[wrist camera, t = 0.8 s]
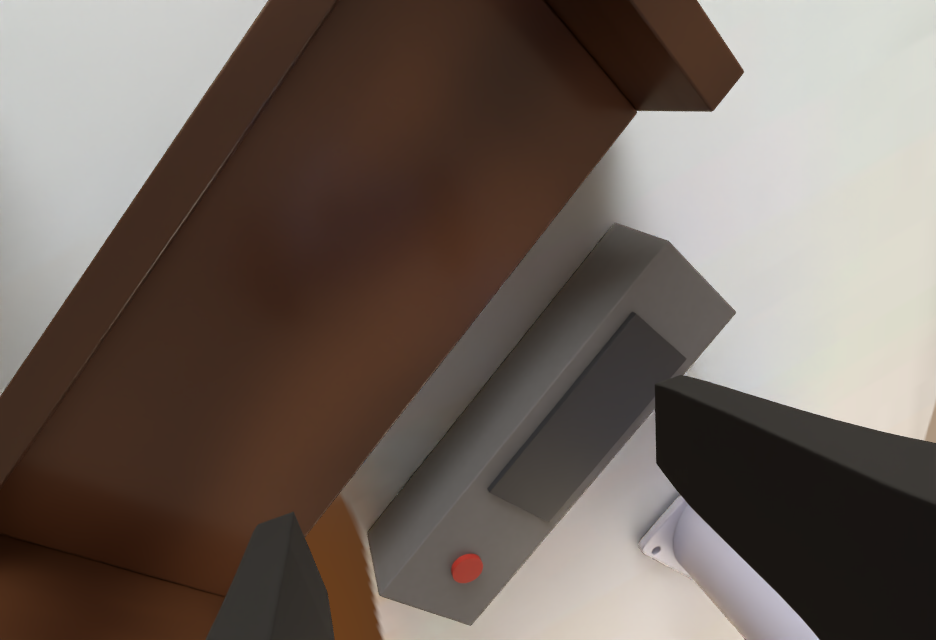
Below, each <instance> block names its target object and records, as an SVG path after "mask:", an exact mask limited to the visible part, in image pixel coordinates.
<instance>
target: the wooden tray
mask: <svg viewBox="0 0 936 640" xmlns="http://www.w3.org/2000/svg"><path fill="white" fill-rule="evenodd" d="M743 73H744V70H743V69H742V67H741V66H740V64H739V63H738V61H737V60H736V58H735V57H734V55H733V54H732V52H731V51H730V49H729V48H728V46H727V45H726V43H725V42H724V40H723V39H722V37H721V36H720V34H719V33H718V31H717V30H716V28H715V27H714V25H713V24H712V22H711V21H710V19H709V18H708V16H707V15H706V13H705V12H704V10H703V9H702V7H701V6H700V4H699V3H698V1H697V0H268V2H267V3H266V5H265V6H264V8H263V9H262V11H261V12H260V13H259V15H258V16H257V18H256V19H255V21H254V22H253V24H252V25H251V27H250V28H249V30H248V31H247V33H246V34H245V36H244V37H243V39H242V40H241V42H240V43H239V45H238V46H237V47H236V49H235V50H234V52H233V53H232V55H231V56H230V58H229V59H228V61H227V62H226V64H225V65H224V67H223V68H222V70H221V71H220V73H219V74H218V76H217V77H216V79H215V80H214V81H213V83H212V84H211V86H210V87H209V89H208V90H207V92H206V93H205V95H204V96H203V98H202V99H201V101H200V102H199V104H198V105H197V107H196V108H195V110H194V111H193V112H192V114H191V115H190V117H189V118H188V120H187V121H186V123H185V124H184V126H183V127H182V129H181V130H180V132H179V133H178V135H177V136H176V138H175V139H174V141H173V142H172V144H171V145H170V146H169V148H168V149H167V151H166V152H165V154H164V155H163V157H162V158H161V160H160V161H159V163H158V164H157V166H156V167H155V169H154V170H153V172H152V173H151V175H150V176H149V178H148V179H147V180H146V182H145V183H144V185H143V186H142V188H141V189H140V191H139V192H138V194H137V195H136V197H135V198H134V200H133V201H132V203H131V204H130V206H129V207H128V209H127V210H126V212H125V213H124V214H123V216H122V217H121V219H120V220H119V222H118V223H117V225H116V226H115V228H114V229H113V231H112V232H111V234H110V235H109V237H108V238H107V240H106V241H105V243H104V244H103V246H102V247H101V248H100V250H99V251H98V253H97V254H96V256H95V257H94V259H93V260H92V262H91V263H90V265H89V266H88V268H87V269H86V271H85V272H84V274H83V275H82V277H81V278H80V280H79V281H78V282H77V284H76V285H75V287H74V288H73V290H72V291H71V293H70V294H69V296H68V297H67V299H66V300H65V302H64V303H63V305H62V306H61V308H60V309H59V311H58V312H57V314H56V315H55V316H54V318H53V319H52V321H51V322H50V324H49V325H48V327H47V328H46V330H45V331H44V333H43V334H42V336H41V337H40V339H39V340H38V342H37V343H36V345H35V346H34V347H33V349H32V350H31V352H30V353H29V355H28V356H27V358H26V359H25V361H24V362H23V364H22V365H21V367H20V368H19V370H18V371H17V373H16V374H15V376H14V377H13V379H12V380H11V381H10V383H9V384H8V386H7V387H6V389H5V390H4V392H3V393H2V395H1V396H0V640H205V639H206V637H207V635H208V633H209V631H210V629H211V627H212V625H213V622H214V620H215V618H216V616H217V614H218V612H219V610H220V608H221V605H222V603H223V601H224V599H225V597H226V594H227V592H228V590H229V587H230V585H231V583H232V581H233V578H234V576H235V574H236V571H237V569H238V567H239V564H240V562H241V560H242V557H243V555H244V552H245V550H246V548H247V545H248V543H249V540H250V538H251V536H252V533H253V531H254V529H255V528H256V526H257V525H258V524H260V523H263V522H266V521H269V520H271V519H274V518H277V517H280V516H283V515H286V514H288V513H291V512H294V513H295V516H296V518H297V521H298V523H299V525H300V528H301V530H302V533H303V535H304V537H305V536H306V535H307V534H308V533H309V531H310V530H311V529H312V528H313V526H314V525H315V524H316V523H317V521H318V520H319V519H320V517H321V516H322V515H323V514H324V512H325V511H326V510H327V508H328V507H329V506H330V505H331V503H332V502H333V501H334V500H335V498H336V497H337V496H338V494H339V493H340V492H341V491H342V489H343V488H344V487H345V486H346V484H347V483H348V482H349V480H350V479H351V478H352V477H353V475H354V474H355V473H356V471H357V470H358V469H359V468H360V466H361V465H362V464H363V463H364V461H365V460H366V459H367V457H368V456H369V455H370V454H371V452H372V451H373V450H374V448H375V447H376V446H377V445H378V443H379V442H380V441H381V440H382V438H383V437H384V436H385V434H386V433H387V432H388V431H389V429H390V428H391V427H392V425H393V424H394V423H395V422H396V420H397V419H398V418H399V417H400V415H401V414H402V413H403V411H404V410H405V409H406V408H407V406H408V405H409V404H410V402H411V401H412V400H413V399H414V397H415V396H416V395H417V394H418V392H419V391H420V390H421V388H422V387H423V386H424V385H425V383H426V382H427V381H428V379H429V378H430V377H431V376H432V374H433V373H434V372H435V371H436V369H437V368H438V367H439V365H440V364H441V363H442V362H443V360H444V359H445V358H446V356H447V355H448V354H449V353H450V351H451V350H452V349H453V348H454V346H455V345H456V344H457V342H458V341H459V340H460V339H461V337H462V336H463V335H464V333H465V332H466V331H467V330H468V328H469V327H470V326H471V325H472V323H473V322H474V321H475V319H476V318H477V317H478V316H479V314H480V313H481V312H482V310H483V309H484V308H485V307H486V305H487V304H488V303H489V302H490V300H491V299H492V298H493V296H494V295H495V294H496V293H497V291H498V290H499V289H500V287H501V286H502V285H503V284H504V282H505V281H506V280H507V279H508V277H509V276H510V275H511V273H512V272H513V271H514V270H515V268H516V267H517V266H518V264H519V263H520V262H521V261H522V259H523V258H524V257H525V256H526V254H527V253H528V252H529V250H530V249H531V248H532V247H533V245H534V244H535V243H536V241H537V240H538V239H539V238H540V236H541V235H542V234H543V233H544V231H545V230H546V229H547V227H548V226H549V225H550V224H551V222H552V221H553V220H554V218H555V217H556V216H557V215H558V213H559V212H560V211H561V210H562V208H563V207H564V206H565V204H566V203H567V202H568V201H569V199H570V198H571V197H572V195H573V194H574V193H575V192H576V190H577V189H578V188H579V187H580V185H581V184H582V183H583V181H584V180H585V179H586V178H587V176H588V175H589V174H590V172H591V171H592V170H593V169H594V167H595V166H596V165H597V164H598V162H599V161H600V160H601V158H602V157H603V156H604V155H605V153H606V152H607V151H608V150H609V148H610V147H611V146H612V144H613V143H614V142H615V141H616V139H617V138H618V137H619V135H620V134H621V133H622V132H623V130H624V129H625V128H626V127H627V125H628V124H629V123H630V121H631V120H632V119H633V118H634V116H635V115H636V113H637V111H705V112H712V111H713V110H714V109H715V108H716V107H717V106H718V104H719V103H720V102H721V101H722V99H723V98H724V97H725V96H726V94H727V93H728V92H729V91H730V89H731V88H732V87H733V86H734V84H735V83H736V82H737V81H738V79H739V78H740V77H741V76H742V74H743Z"/></svg>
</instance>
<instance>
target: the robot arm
mask: <svg viewBox="0 0 936 640" xmlns="http://www.w3.org/2000/svg"><path fill="white" fill-rule="evenodd" d="M655 421H656V464H657V465H658V466H659V468H660V469H661V470H662V472H663V473H664V474H665V476H666V477H667V478H668V479H669V481H670V482H671V483H672V485H673V486H674V487H675V489H676V490H677V491H678V492H679V494H680V495H679V496H678V497H677V499H676V500H675V501H674V502H673V503H672V504H671V505H670V507H669V508H668V509H667V510H666V511H665V512H664V513H663V515H662V516H661V517H660V518H659V519H658V520H657V521H656V523H655V524H654V525H653V526H652V527H651V528H650V529H649V531H648V532H647V533H646V534H645V535H644V536H643V537H642V539H641V540H640V541H639V545H638V547H639V549H640V550H641V552H642V553H643V554H645V555H647V556H649V557H650V558H652V559H654V560H656V561H658V562H660V563H662V564H664V565H666V566H668V567H669V568H671V569H673V570H675V571H677V572H679V573H681V574H683V575H685V576H687V577H688V578H690V579H692V580H694V581H695V582H696V583H697V584H698V586H699V587H700V588H701V589H702V590H703V591H704V593H705V594H706V595H707V596H708V597H709V598H710V599H711V601H712V602H713V603H714V604H715V605H716V606H717V607H718V609H719V610H720V611H721V612H722V613H723V614H724V616H725V617H726V618H727V619H728V620H729V621H730V622H731V624H732V625H733V626H734V627H735V628H736V629H737V631H738V632H739V633H740V634H741V635H742V636H743V637H744V639H745V640H936V443H932V442H928V441H923V440H918V439H913V438H908V437H903V436H899V435H894V434H890V433H886V432H881V431H877V430H873V429H869V428H865V427H862V426H858V425H854V424H850V423H846V422H842V421H838V420H834V419H831V418H827V417H824V416H820V415H816V414H813V413H809V412H806V411H802V410H799V409H796V408H792V407H789V406H786V405H782V404H779V403H776V402H772V401H769V400H766V399H762V398H759V397H756V396H753V395H749V394H746V393H743V392H740V391H737V390H733V389H730V388H727V387H723V386H720V385H717V384H713V383H710V382H706V381H703V380H699V379H696V378H692V377H688V376H683V375H679V376H676V377H673V378H670V379H667V380H665V381H662V382H659V383H656V384H655ZM205 640H334V633H333V625H332V619H331V612H330V606H329V600H328V593H327V590H326V588H325V585H324V583H323V581H322V578H321V576H320V573H319V571H318V569H317V566H316V564H315V561H314V559H313V557H312V554H311V552H310V549H309V547H308V545H307V542H306V540H305V537H304V535H303V533H302V530H301V528H300V525H299V523H298V521H297V518H296V516H295V513H294V512H291V513H288V514H286V515H283V516H280V517H277V518H274V519H271V520H269V521H266V522H263V523H260V524H258V525H257V526H256V528H255V529H254V531H253V533H252V536H251V538H250V540H249V543H248V545H247V548H246V550H245V552H244V555H243V557H242V560H241V562H240V564H239V567H238V569H237V571H236V574H235V576H234V578H233V581H232V583H231V585H230V587H229V590H228V592H227V594H226V597H225V599H224V601H223V603H222V605H221V608H220V610H219V612H218V614H217V616H216V618H215V620H214V622H213V625H212V627H211V629H210V631H209V633H208V635H207V637H206V639H205Z"/></svg>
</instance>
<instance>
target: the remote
mask: <svg viewBox="0 0 936 640" xmlns="http://www.w3.org/2000/svg"><path fill="white" fill-rule="evenodd" d="M735 314H736V311H735V310H734V309H733V308H732V307H731V306H730V305H729V304H728V303H727V302H726V301H725V300H724V299H723V298H722V297H721V295H720V294H719V293H718V292H717V291H716V290H715V289H714V288H713V287H712V286H711V285H710V284H709V283H708V282H707V281H706V280H705V279H704V278H703V277H702V276H701V275H700V273H699V272H698V271H697V270H696V269H695V268H694V267H693V266H692V265H691V264H690V263H689V262H688V261H687V260H686V259H685V258H684V257H683V256H682V255H681V254H680V252H679V251H678V250H677V249H676V248H675V247H674V246H673V245H672V244H671V243H670V242H669V241H667V240H664V239H661V238H658V237H655V236H652V235H650V234H647V233H644V232H641V231H638V230H635V229H632V228H629V227H627V226H624V225H621V224H618V223H614V224H613V225H612V227H611V228H610V229H609V230H608V232H607V233H606V234H605V235H604V237H603V238H602V239H601V240H600V242H599V243H598V244H597V245H596V247H595V248H594V249H593V250H592V252H591V253H590V254H589V255H588V257H587V258H586V259H585V260H584V262H583V263H582V264H581V265H580V267H579V268H578V269H577V271H576V272H575V273H574V274H573V276H572V277H571V278H570V279H569V281H568V282H567V283H566V284H565V286H564V287H563V288H562V289H561V291H560V292H559V293H558V294H557V296H556V297H555V298H554V299H553V301H552V302H551V303H550V304H549V306H548V307H547V308H546V309H545V311H544V312H543V313H542V314H541V316H540V317H539V318H538V319H537V321H536V322H535V323H534V324H533V326H532V327H531V328H530V329H529V331H528V332H527V333H526V334H525V336H524V337H523V338H522V339H521V341H520V342H519V343H518V344H517V346H516V347H515V348H514V349H513V351H512V352H511V353H510V354H509V356H508V357H507V358H506V359H505V361H504V362H503V363H502V364H501V366H500V367H499V368H498V369H497V371H496V372H495V373H494V374H493V376H492V377H491V378H490V379H489V381H488V382H487V383H486V385H485V386H484V387H483V388H482V390H481V391H480V392H479V393H478V395H477V396H476V397H475V398H474V400H473V401H472V402H471V403H470V405H469V406H468V407H467V408H466V410H465V411H464V412H463V413H462V415H461V416H460V417H459V418H458V420H457V421H456V422H455V423H454V425H453V426H452V427H451V428H450V430H449V431H448V432H447V433H446V435H445V436H444V437H443V438H442V440H441V441H440V442H439V443H438V445H437V446H436V447H435V448H434V450H433V451H432V452H431V453H430V455H429V456H428V457H427V458H426V460H425V461H424V462H423V463H422V465H421V466H420V467H419V468H418V470H417V471H416V472H415V473H414V475H413V476H412V477H411V478H410V480H409V481H408V482H407V483H406V485H405V486H404V487H403V488H402V490H401V491H400V492H399V493H398V495H397V496H396V497H395V499H394V500H393V501H392V502H391V504H390V505H389V506H388V507H387V509H386V510H385V511H384V512H383V514H382V515H381V516H380V517H379V519H378V520H377V521H376V522H375V524H374V525H373V526H372V527H371V529H370V530H369V531H368V533H367V535H368V540H369V545H370V551H371V556H372V561H373V566H374V571H375V576H376V581H377V586H378V592H379V595H380V596H382V597H385V598H388V599H391V600H394V601H397V602H400V603H403V604H406V605H409V606H412V607H415V608H418V609H421V610H424V611H427V612H430V613H433V614H437V615H440V616H443V617H446V618H449V619H452V620H455V621H458V622H461V623H464V624H467V625H472V624H473V623H474V622H475V621H476V619H477V618H478V617H479V616H480V615H481V614H482V612H483V611H484V610H485V609H486V608H487V606H488V605H489V604H490V603H491V602H492V601H493V599H494V598H495V597H496V596H497V595H498V593H499V592H500V591H501V590H502V589H503V588H504V586H505V585H506V584H507V583H508V582H509V580H510V579H511V578H512V577H513V576H514V575H515V573H516V572H517V571H518V570H519V569H520V568H521V566H522V565H523V564H524V563H525V562H526V560H527V559H528V558H529V557H530V556H531V555H532V553H533V552H534V551H535V550H536V549H537V547H538V546H539V545H540V544H541V543H542V542H543V540H544V539H545V538H546V537H547V536H548V534H549V533H550V532H551V531H552V530H553V529H554V527H555V526H556V525H557V524H558V523H559V521H560V520H561V519H562V518H563V517H564V516H565V514H566V513H567V512H568V511H569V510H570V508H571V507H572V506H573V505H574V504H575V503H576V501H577V500H578V499H579V498H580V497H581V495H582V494H583V493H584V492H585V491H586V490H587V488H588V487H589V486H590V485H591V484H592V482H593V481H594V480H595V479H596V478H597V477H598V475H599V474H600V473H601V472H602V471H603V469H604V468H605V467H606V466H607V465H608V464H609V462H610V461H611V460H612V459H613V458H614V456H615V455H616V454H617V453H618V452H619V451H620V449H621V448H622V447H623V446H624V445H625V443H626V442H627V441H628V440H629V439H630V438H631V436H632V435H633V434H634V433H635V432H636V430H637V429H638V428H639V427H640V426H641V425H642V423H643V422H644V421H645V420H646V419H647V418H648V416H649V415H650V414H651V413H652V412H653V410H654V409H655V384H656V383H659V382H662V381H665V380H667V379H670V378H673V377H676V376H679V375H684V374H685V373H686V371H687V370H688V369H689V368H690V367H691V366H692V364H693V363H694V362H695V361H696V360H697V358H698V357H699V356H700V355H701V354H702V353H703V351H704V350H705V349H706V348H707V347H708V345H709V344H710V343H711V342H712V341H713V340H714V338H715V337H716V336H717V335H718V334H719V332H720V331H721V330H722V329H723V328H724V327H725V325H726V324H727V323H728V322H729V321H730V319H731V318H732V317H733V316H734V315H735Z"/></svg>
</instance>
